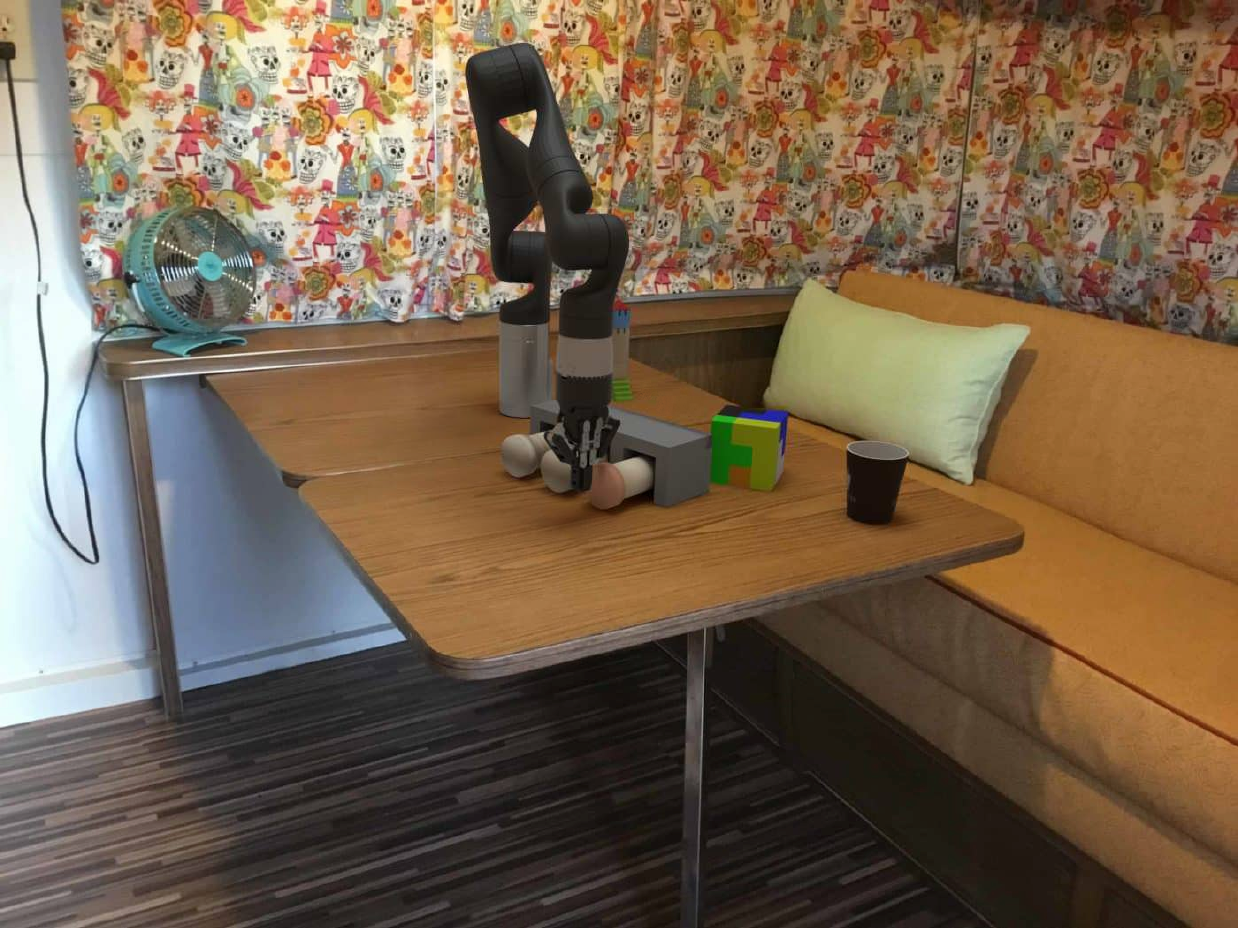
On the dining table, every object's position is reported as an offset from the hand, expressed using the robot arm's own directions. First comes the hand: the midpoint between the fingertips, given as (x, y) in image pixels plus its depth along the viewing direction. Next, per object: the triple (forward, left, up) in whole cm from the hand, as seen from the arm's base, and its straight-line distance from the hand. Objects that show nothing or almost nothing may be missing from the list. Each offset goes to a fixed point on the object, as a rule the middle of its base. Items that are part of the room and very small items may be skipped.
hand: (581, 490), depth 141 cm
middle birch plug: (-9, -9, -4) cm, 13 cm away
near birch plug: (-9, -18, -4) cm, 20 cm away
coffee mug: (-33, +27, -4) cm, 43 cm away
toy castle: (-55, -51, -4) cm, 75 cm away
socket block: (-17, -9, -4) cm, 19 cm away
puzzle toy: (-32, +5, -4) cm, 32 cm away
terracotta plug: (-9, 0, -4) cm, 9 cm away
